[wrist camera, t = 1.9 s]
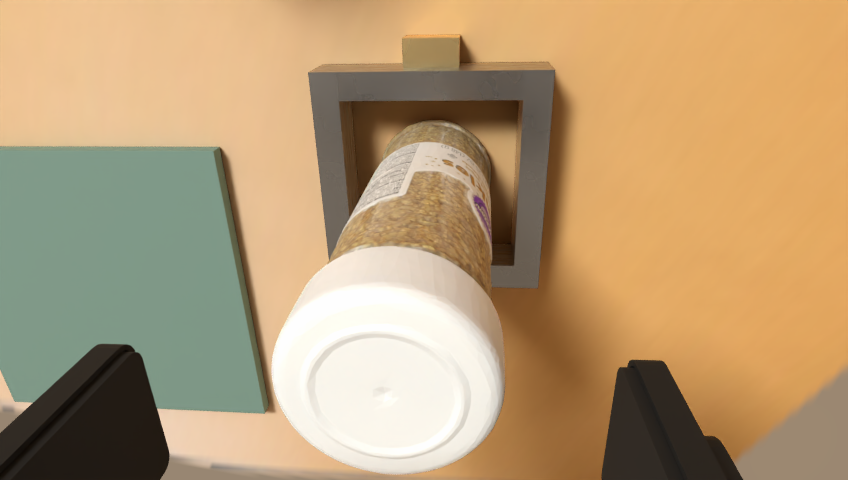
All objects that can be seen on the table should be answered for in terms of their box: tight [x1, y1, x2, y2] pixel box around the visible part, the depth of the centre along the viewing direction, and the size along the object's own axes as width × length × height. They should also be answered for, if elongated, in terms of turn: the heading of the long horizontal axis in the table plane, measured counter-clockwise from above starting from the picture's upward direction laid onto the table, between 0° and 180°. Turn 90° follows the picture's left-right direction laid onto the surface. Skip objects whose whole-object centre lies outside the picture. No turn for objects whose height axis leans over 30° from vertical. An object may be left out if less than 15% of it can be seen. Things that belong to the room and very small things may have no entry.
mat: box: [0, 147, 269, 414], centre depth 26 cm, size 14×14×1 cm
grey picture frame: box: [308, 34, 555, 288], centre depth 21 cm, size 10×8×2 cm
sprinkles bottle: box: [272, 120, 505, 474], centre depth 16 cm, size 5×5×14 cm
